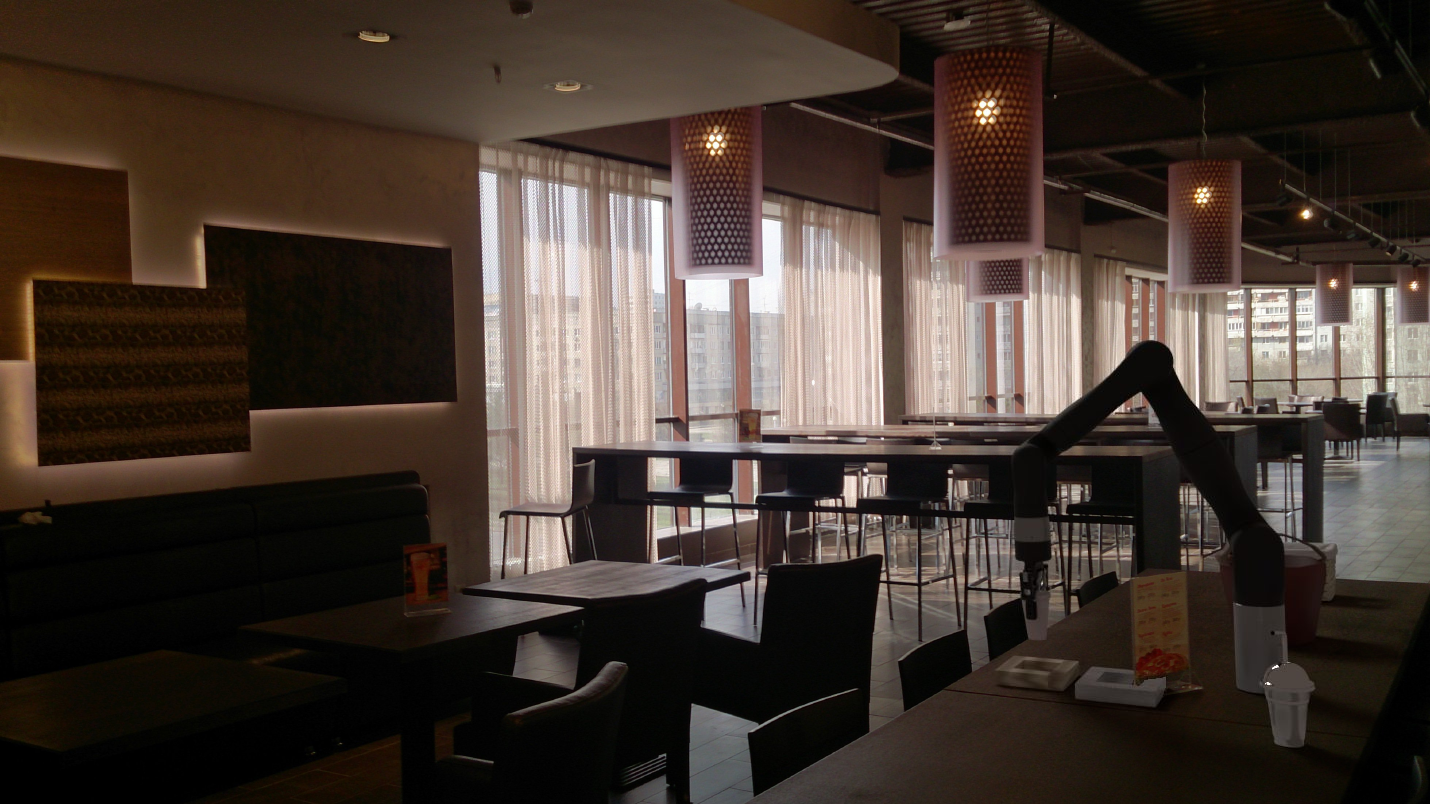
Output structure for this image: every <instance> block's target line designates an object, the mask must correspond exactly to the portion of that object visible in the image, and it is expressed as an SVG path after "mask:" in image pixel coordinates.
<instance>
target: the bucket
mask: <svg viewBox="0 0 1430 804" xmlns="http://www.w3.org/2000/svg"><path fill="white" fill-rule="evenodd" d="M1277 533H1278V534H1279V536H1280V537H1284V538H1286V539H1287V538H1288V539H1291V540H1294V541H1296V542H1300V543H1302V544H1305V545H1307V546H1309V547H1311V548H1312V549H1313V550H1314V551H1315V552H1316V553H1317V554H1318V555H1319V556H1320V558H1319V559H1315V558H1312V557H1309V556H1296V555H1285V593H1284V607H1285V633H1286V635H1287V646H1298V645H1299V646H1300V645H1303V644H1307V643H1312V642H1315V640H1316V635H1317V631H1318V630H1317V629H1318V624H1319V619H1320V615H1321V613H1320V612H1321V608H1322V602H1323V601H1322V598H1323V593H1324V587H1325V582H1326V576H1327V572H1326V563H1325V561H1326V559H1327V556H1326V555H1325V554H1324V553H1323V552H1322V551H1321V550H1320V549H1319V548H1317V547H1316V546H1315V545H1312V544H1310V543H1311V542H1307V541H1305V540H1304V539H1301V538H1297V537H1295V536H1291V535H1289V534H1286V533H1283V532H1282V533H1281V532H1277ZM1231 553H1232V551H1231V548H1230V545H1229V542H1228V540H1227V539H1226V543H1225V545H1224V546H1223V549H1221V550H1218V551H1217V553H1215V554H1214V558H1215V559H1216V561H1217V563H1218V564H1219V574H1220V578H1221V579H1220V580H1221V582H1222V587H1223V592H1224V595H1225V599H1226V602H1227V608H1228V611H1229V616H1230V620H1231V624H1232V628H1233V629H1234V608H1233V602H1234V601H1233V586H1234V570H1233V554H1231Z"/></svg>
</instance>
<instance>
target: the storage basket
mask: <svg viewBox="0 0 1430 804" xmlns="http://www.w3.org/2000/svg"><path fill="white" fill-rule="evenodd" d="M1309 543H1310V544H1312V545H1315V546H1316V547H1317V548H1319V549H1320V550H1321V551H1322V552H1323V553H1324V554H1325V555H1326V556H1327V559H1326V561H1325V563H1326V572H1327V576H1326V582H1325V587H1324V593H1323V598H1322V602H1330V601H1331V600H1332V599H1334V596H1336V595H1335V594H1336V579H1337V578H1336V574H1337V573H1336V572H1337V569H1336V564H1337V555H1338V554H1339V550H1338V545H1337V543H1332V542H1331V543H1327V542H1326V543H1325V542H1309ZM1283 544H1284V552H1285V555H1296V556H1309V557H1312V558H1315V559H1319V558H1320V556H1319V555H1318V554H1317V553H1316V552H1315V551H1314V550H1313V549H1312V548H1311V547H1309V546H1307V545H1305V544H1302V543H1300V542H1298V541H1296V542H1293V541H1283Z"/></svg>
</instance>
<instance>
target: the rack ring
mask: <svg viewBox="0 0 1430 804" xmlns="http://www.w3.org/2000/svg"><path fill="white" fill-rule="evenodd" d="M1133 680H1134V671H1133V669H1124V668H1123V669H1122V668H1112V667H1104V666H1103V667H1102V666H1101V667H1100V666H1091V667H1090V668H1089V669H1088V670H1087V671H1086V672H1085V673H1084V674H1083V675H1081V677H1080V678H1079V679H1078V680H1077V681H1076V682H1075V683H1074V689H1075V690H1074V696H1075V698H1074V699H1075V700H1083V701H1092V702H1101V703H1109V704H1110V703H1111V704H1119V705H1120V704H1121V705H1131V706H1140V707H1141V706H1142V707H1149V708H1156V707H1157V706H1158V704H1159V703H1160V701H1161V700H1162V698H1163V697H1164V696H1163V694H1164V691H1165V688H1166V677H1163V678H1156V679H1148V680H1144V682H1143V683H1142V684H1141V685H1140V686H1137V685H1132V683H1133ZM1164 695H1165V694H1164Z"/></svg>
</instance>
